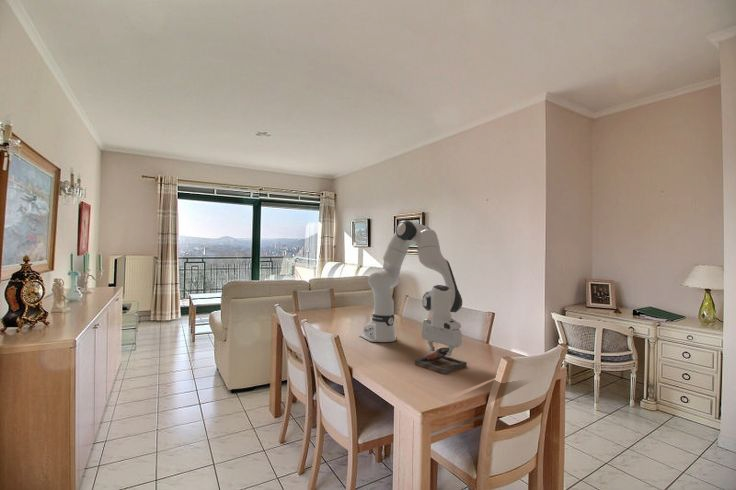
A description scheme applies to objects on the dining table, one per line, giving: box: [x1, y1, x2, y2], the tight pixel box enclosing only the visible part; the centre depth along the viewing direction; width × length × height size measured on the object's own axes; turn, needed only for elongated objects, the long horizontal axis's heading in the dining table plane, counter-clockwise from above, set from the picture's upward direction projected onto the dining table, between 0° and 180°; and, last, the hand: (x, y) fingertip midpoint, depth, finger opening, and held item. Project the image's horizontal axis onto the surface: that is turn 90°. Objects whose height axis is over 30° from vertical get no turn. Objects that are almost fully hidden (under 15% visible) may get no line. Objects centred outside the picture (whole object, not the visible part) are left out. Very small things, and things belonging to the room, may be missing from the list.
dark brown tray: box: [414, 355, 467, 375], centre depth 157 cm, size 16×16×2 cm
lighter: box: [426, 346, 450, 362], centre depth 157 cm, size 8×3×10 cm
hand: (440, 353), depth 157 cm, fingers open, 8 cm apart
